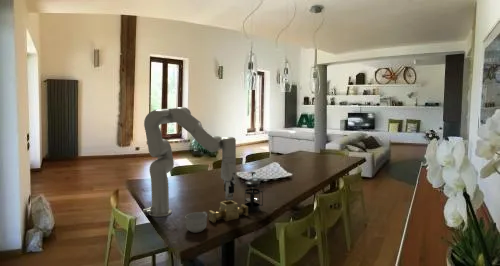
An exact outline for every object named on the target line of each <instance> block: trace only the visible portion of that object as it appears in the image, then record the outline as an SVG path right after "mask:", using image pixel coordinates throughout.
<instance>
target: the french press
mask: <svg viewBox="0 0 500 266" xmlns="http://www.w3.org/2000/svg"><path fill="white" fill-rule="evenodd" d="M248 174H251V180H247V181H244V183H245V185H246V187H247V188H246V189H245V190H244V194H245V195H250V196H249V197H247V198H246V197H245V198H244V201H245V203H244V205H246V206H248V213H257V212H259V211H261V207H262V206H264V191H263V190H260V189H259V186H260V184H261V182H260V181H259V180H253V179H254V174H256V171H250V172H248ZM261 193H262V195H260V194H261ZM255 195H258V196H259V198H258V197H255ZM260 198H262V201H261V199H260ZM258 202H259V203H258ZM260 202H262V204H261V203H260Z"/></svg>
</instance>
